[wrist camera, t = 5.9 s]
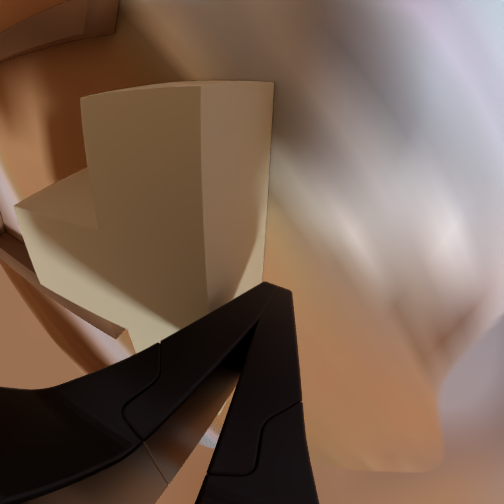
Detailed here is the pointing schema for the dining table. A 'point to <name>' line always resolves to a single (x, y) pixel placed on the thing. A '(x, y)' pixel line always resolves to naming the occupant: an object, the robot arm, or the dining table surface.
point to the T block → (159, 205)
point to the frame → (31, 39)
